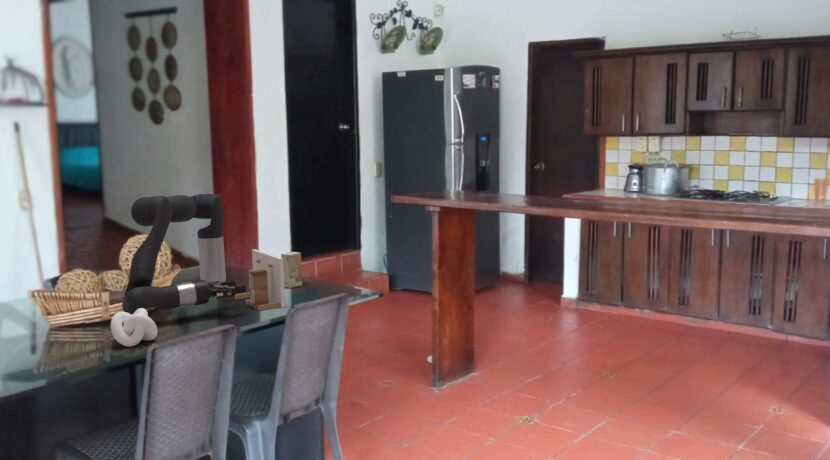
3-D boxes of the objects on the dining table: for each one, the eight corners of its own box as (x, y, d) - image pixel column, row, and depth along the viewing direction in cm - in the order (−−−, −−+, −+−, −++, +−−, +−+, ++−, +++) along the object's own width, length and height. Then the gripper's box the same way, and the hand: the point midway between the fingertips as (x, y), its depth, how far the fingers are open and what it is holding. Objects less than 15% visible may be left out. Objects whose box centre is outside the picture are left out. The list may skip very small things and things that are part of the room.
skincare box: (290, 288, 276) (288, 255, 274) (281, 287, 279) (280, 253, 277) (303, 285, 281) (301, 252, 279) (294, 283, 284) (293, 251, 282)
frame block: (249, 306, 252) (247, 270, 250) (263, 304, 255) (261, 268, 253) (255, 309, 248) (253, 272, 247) (268, 306, 251) (266, 270, 249)
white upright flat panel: (233, 298, 263) (231, 252, 261) (257, 294, 268) (255, 249, 265) (260, 311, 245) (257, 262, 243) (285, 306, 250) (282, 258, 248)
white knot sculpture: (112, 339, 219) (110, 308, 217) (157, 333, 223) (154, 303, 222) (112, 350, 208) (109, 318, 207) (158, 344, 212) (156, 313, 211)
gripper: (198, 285, 231) (248, 278, 241) (182, 278, 243) (231, 271, 252) (199, 310, 232) (250, 301, 242) (183, 301, 244) (232, 293, 253)
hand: (240, 286), depth 247 cm, fingers open, 8 cm apart
